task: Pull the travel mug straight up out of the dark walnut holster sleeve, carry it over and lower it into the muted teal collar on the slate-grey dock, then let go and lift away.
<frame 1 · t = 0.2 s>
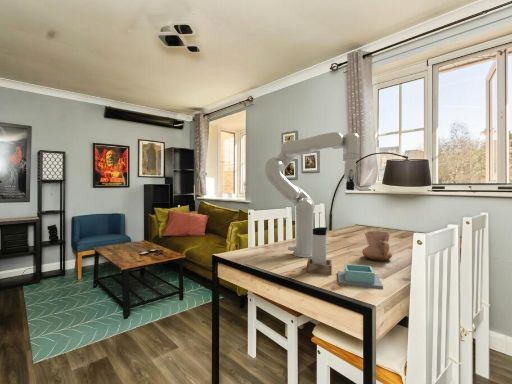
hand: (349, 189, 145), 37 cm above the table, tool pointing down, fingers open, 9 cm apart
dock: (358, 280, 112), on the table
ceramic jug: (377, 259, 144), on the table
travel mug: (319, 270, 125), resting in holster
holster: (319, 270, 125), on the table
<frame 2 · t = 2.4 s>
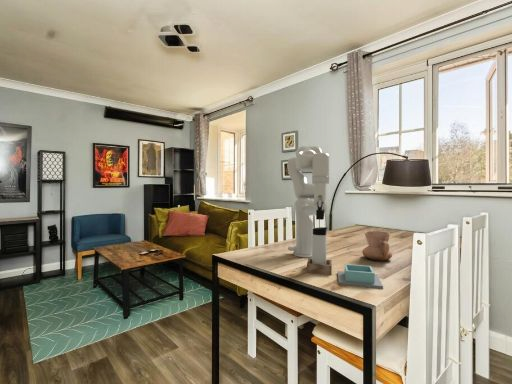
hand: (320, 218, 124), 24 cm above the table, tool pointing down, fingers open, 9 cm apart
nothing on the table moved.
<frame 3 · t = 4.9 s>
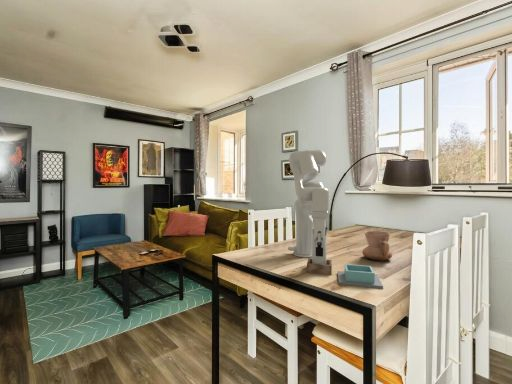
hand: (319, 253, 125), 8 cm above the table, tool pointing down, fingers closed on travel mug, 6 cm apart
travel mug: (319, 270, 125), resting in holster, touching gripper
everything else where it was.
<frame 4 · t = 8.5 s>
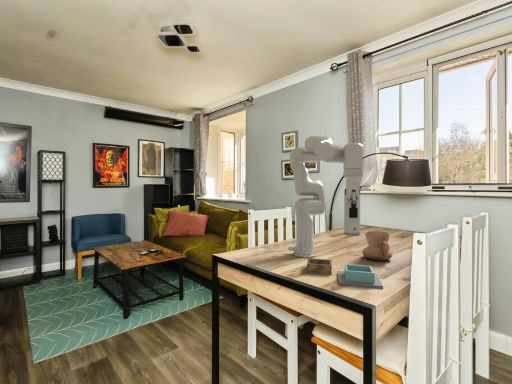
hand: (352, 216, 113), 26 cm above the table, tool pointing down, fingers closed on travel mug, 6 cm apart
travel mug: (352, 235, 113), point 18 cm above the table, touching gripper
everything else where it was.
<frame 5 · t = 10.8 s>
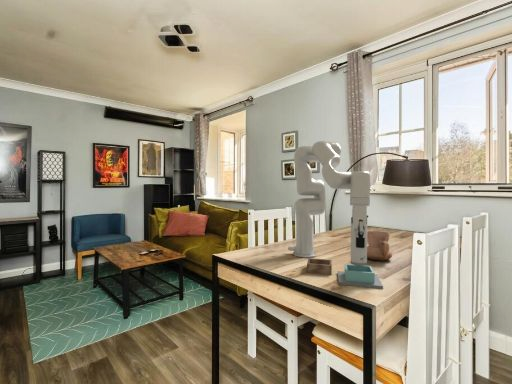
hand: (359, 245, 111), 14 cm above the table, tool pointing down, fingers closed on travel mug, 6 cm apart
travel mug: (359, 264, 112), point 7 cm above the table, touching gripper
everything else where it was.
when the fingers open (10 cm above the table, at t = 12.6 s): travel mug drops 1 cm, resting on dock.
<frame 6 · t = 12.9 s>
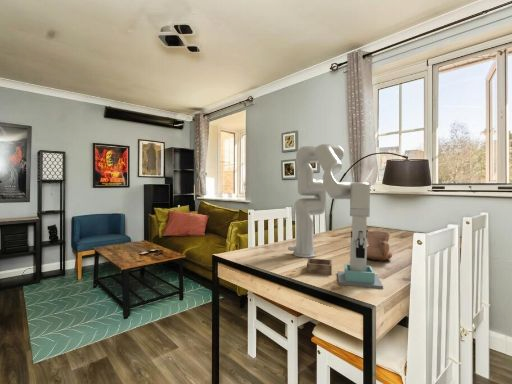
hand: (359, 254, 112), 11 cm above the table, tool pointing down, fingers open, 8 cm apart
travel mug: (358, 278, 112), point 1 cm above the table, touching dock
everything else where it was.
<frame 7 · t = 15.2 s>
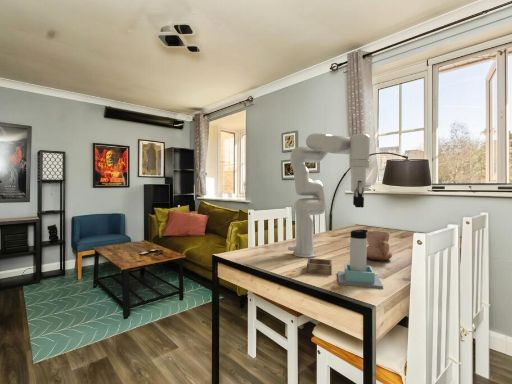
hand: (358, 206, 113), 30 cm above the table, tool pointing down, fingers open, 9 cm apart
nothing on the table moved.
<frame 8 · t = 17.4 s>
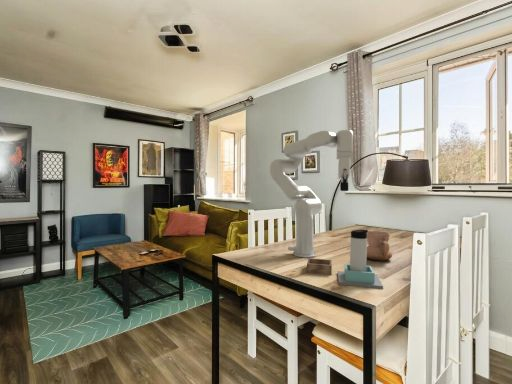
hand: (344, 190, 134), 36 cm above the table, tool pointing down, fingers open, 9 cm apart
nothing on the table moved.
at the end: travel mug 0.3 cm off-centre on the dock, point 0.8 cm above the dock's base; travel mug tilted 0°; the gripper is holding nothing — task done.
